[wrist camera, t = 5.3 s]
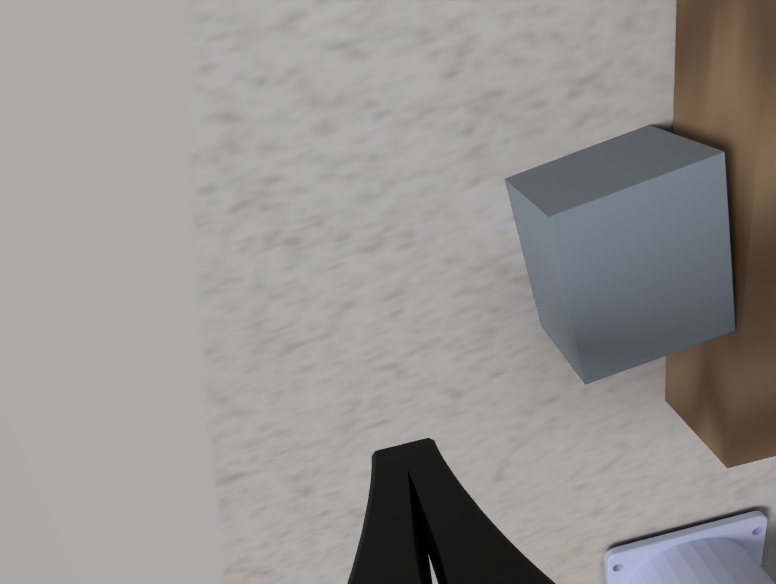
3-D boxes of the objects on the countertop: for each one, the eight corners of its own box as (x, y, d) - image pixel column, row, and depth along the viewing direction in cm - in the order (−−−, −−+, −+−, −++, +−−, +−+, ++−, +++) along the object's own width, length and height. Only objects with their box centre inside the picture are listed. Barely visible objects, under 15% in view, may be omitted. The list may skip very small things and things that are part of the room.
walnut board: (711, 388, 25) (780, 454, 21) (665, 400, 25) (727, 468, 21) (743, -42, 17) (857, -52, 14) (677, -27, 17) (776, -33, 14)
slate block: (665, 277, 22) (735, 330, 19) (539, 322, 22) (585, 384, 19) (646, 123, 19) (724, 151, 16) (503, 177, 20) (548, 217, 16)
